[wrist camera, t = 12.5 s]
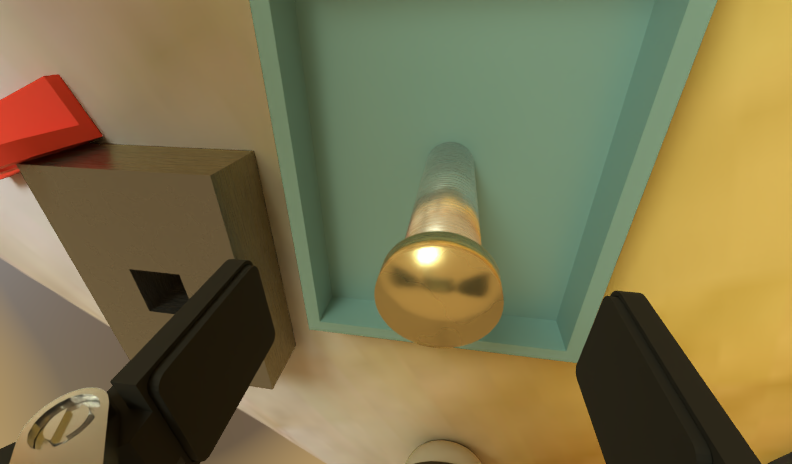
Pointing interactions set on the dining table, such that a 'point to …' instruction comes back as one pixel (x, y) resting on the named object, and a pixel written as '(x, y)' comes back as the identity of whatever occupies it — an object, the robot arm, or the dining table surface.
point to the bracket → (41, 123)
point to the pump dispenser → (442, 454)
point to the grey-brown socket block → (160, 232)
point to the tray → (473, 142)
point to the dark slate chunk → (783, 459)
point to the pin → (442, 261)
